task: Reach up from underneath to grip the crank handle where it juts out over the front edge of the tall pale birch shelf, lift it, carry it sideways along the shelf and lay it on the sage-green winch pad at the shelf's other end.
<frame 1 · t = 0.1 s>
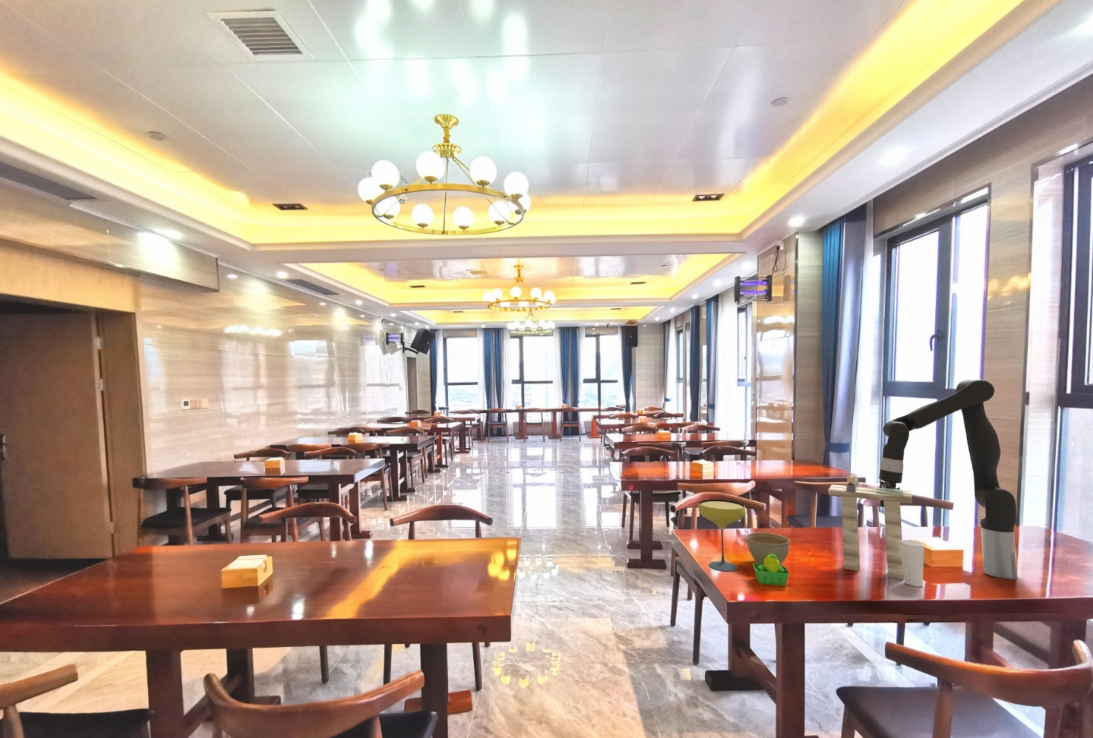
hand: (886, 509, 190), 22 cm above the table, tool pointing down, fingers open, 8 cm apart
crank handle: (853, 487, 188), point 32 cm above the table, touching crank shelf
planter bowl: (768, 565, 190), on the table
cocktail glass: (723, 567, 188), on the table
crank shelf: (873, 574, 178), on the table
drinking glass: (913, 584, 169), on the table
fruit basket: (771, 583, 171), on the table
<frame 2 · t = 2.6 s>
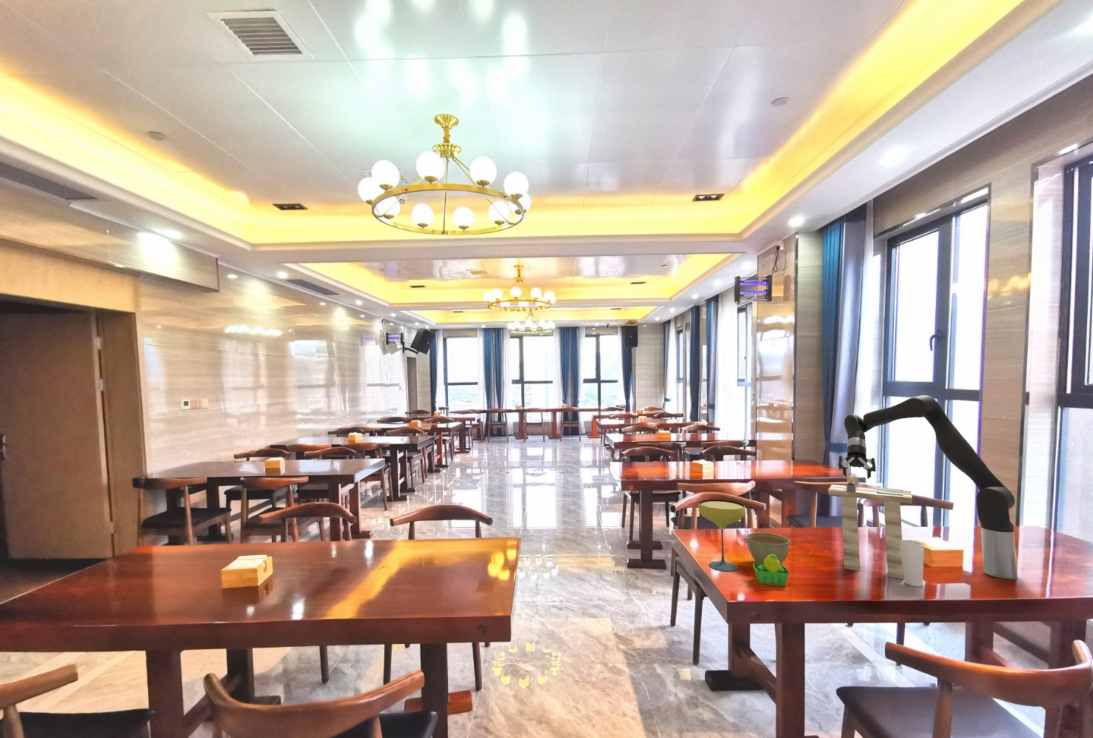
hand: (856, 476, 209), 33 cm above the table, tool tilted 45°, fingers open, 8 cm apart
nothing on the table moved.
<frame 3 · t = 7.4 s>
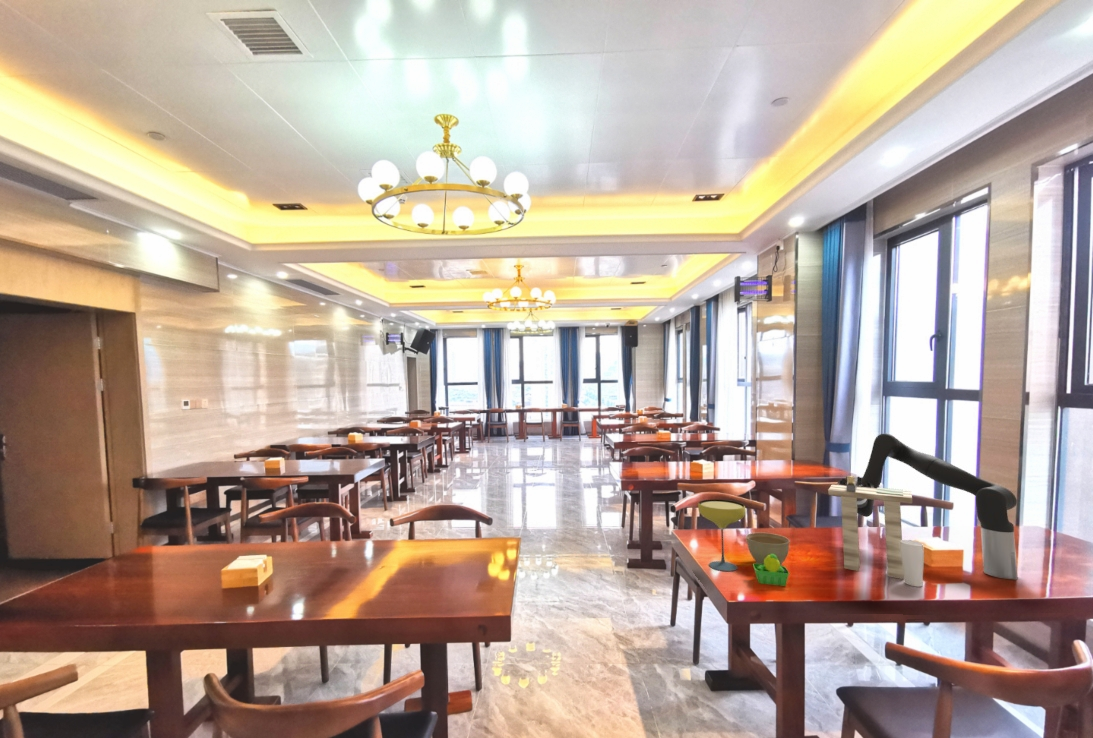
hand: (853, 478, 192), 35 cm above the table, tool pointing upward, fingers closed on crank handle, 2 cm apart
crank handle: (852, 487, 188), point 32 cm above the table, touching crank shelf, gripper
everything else where it was.
when the fingers open (36 cm above the table, at t = 11.7 s): crank handle drops 1 cm, resting on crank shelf.
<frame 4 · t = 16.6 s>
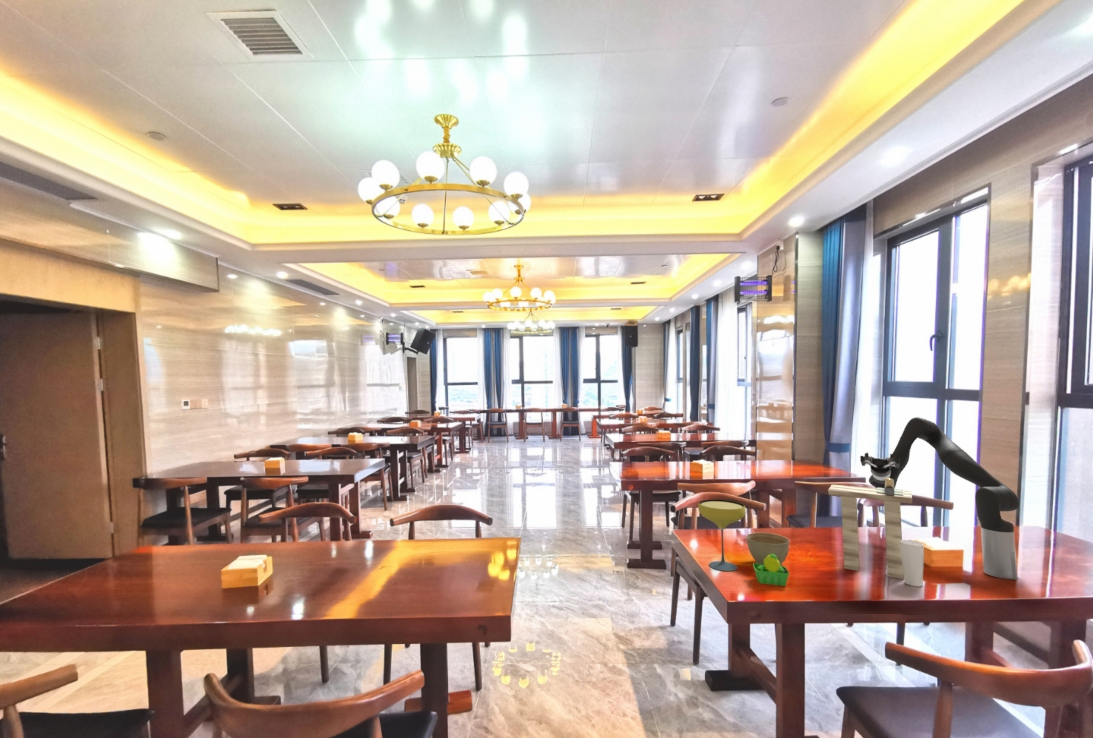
hand: (879, 455, 203), 43 cm above the table, tool pointing upward, fingers open, 8 cm apart
crank handle: (889, 489, 180), point 32 cm above the table, touching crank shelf
everything else where it was.
at the end: crank handle inside the target area on the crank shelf (0.1 cm from its centre), point 32.4 cm above the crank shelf's base; the gripper is holding nothing; crank handle tilted 0° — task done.
